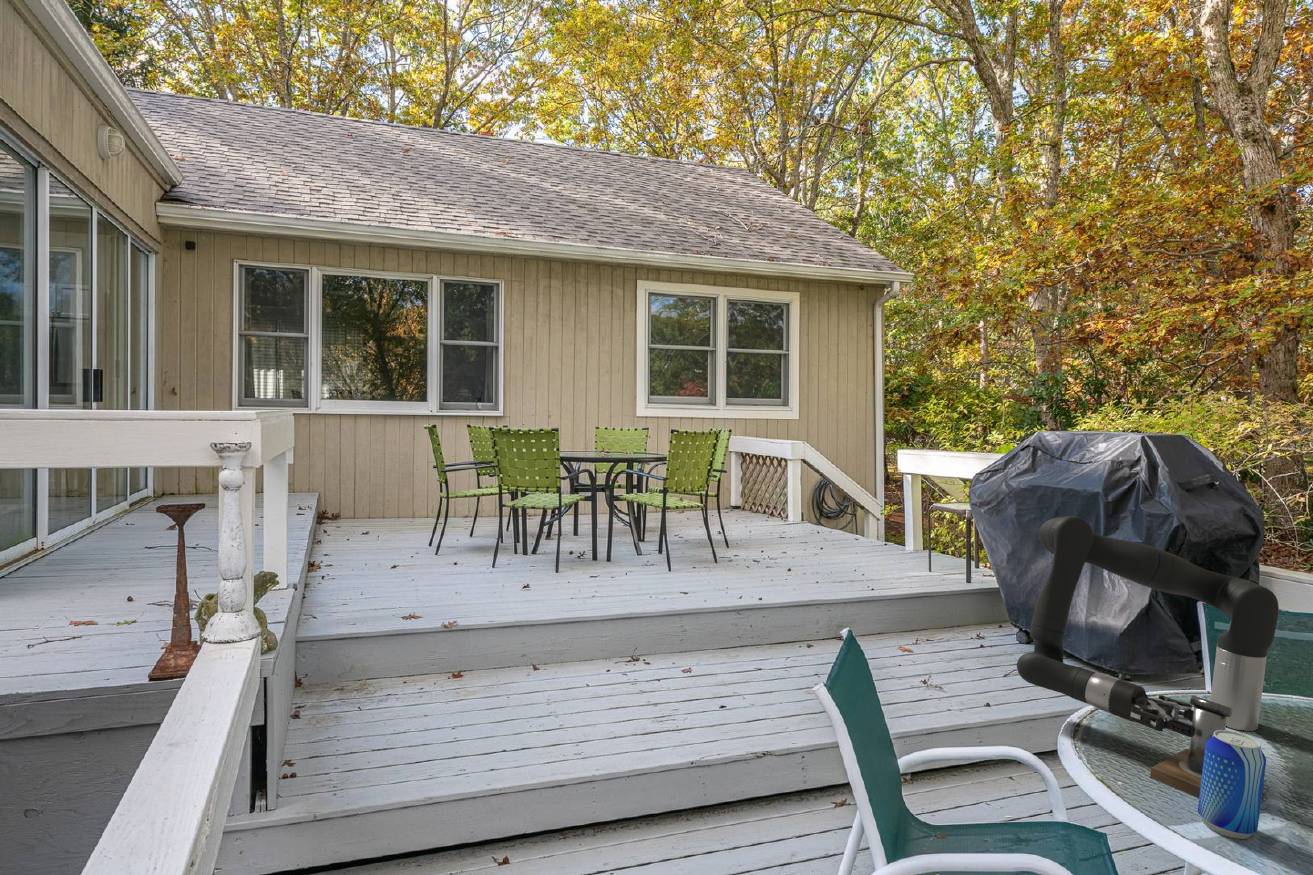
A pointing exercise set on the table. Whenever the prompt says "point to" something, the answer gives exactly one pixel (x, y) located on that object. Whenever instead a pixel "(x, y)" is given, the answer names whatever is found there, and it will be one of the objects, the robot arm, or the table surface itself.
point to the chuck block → (1178, 774)
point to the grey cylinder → (1204, 729)
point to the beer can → (1232, 784)
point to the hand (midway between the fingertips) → (1203, 727)
